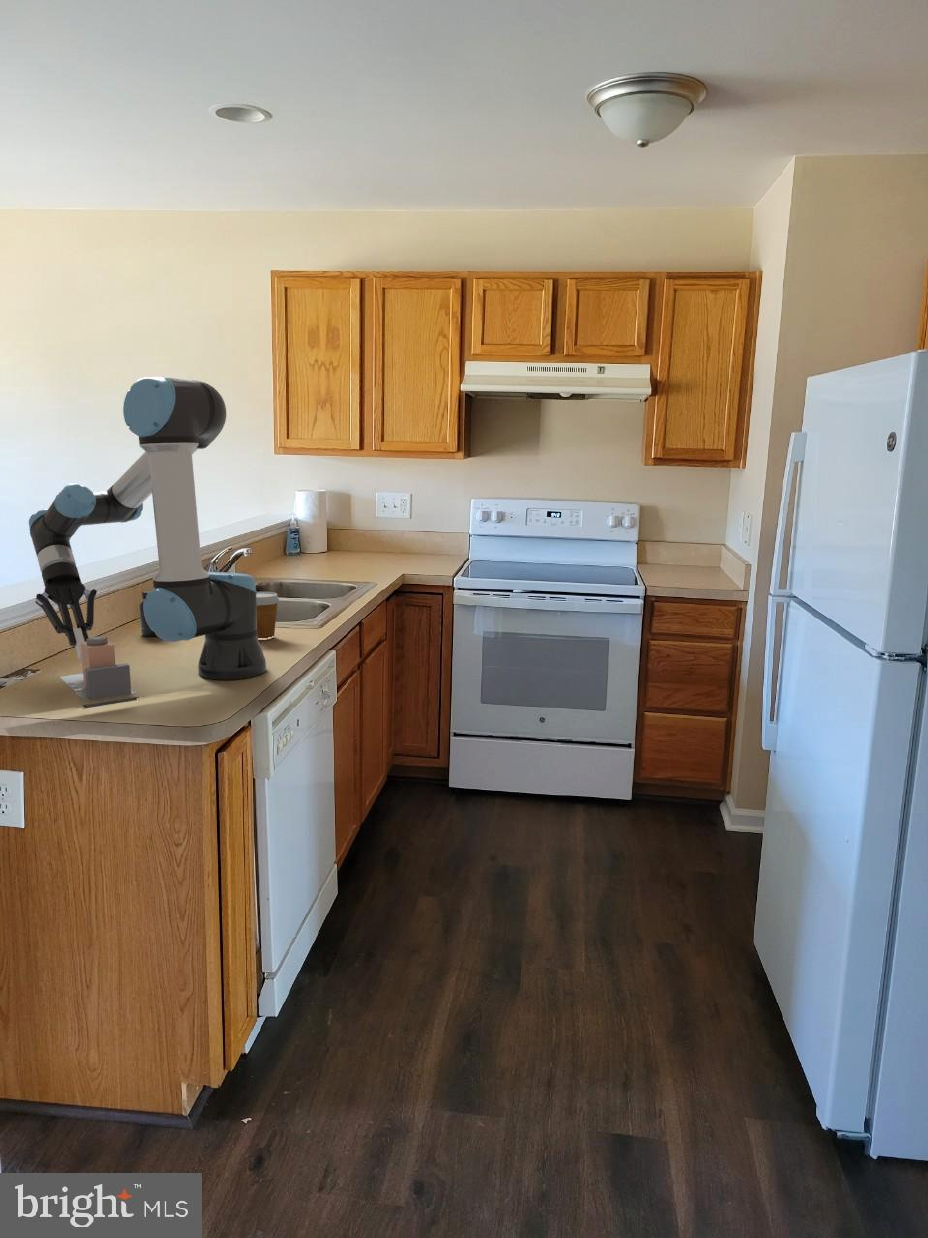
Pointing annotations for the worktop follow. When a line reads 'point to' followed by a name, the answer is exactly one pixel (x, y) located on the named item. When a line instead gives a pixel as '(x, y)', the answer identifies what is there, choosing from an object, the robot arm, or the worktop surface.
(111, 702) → the slate track
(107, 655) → the terracotta plug block
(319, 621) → the worktop surface
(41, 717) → the worktop surface
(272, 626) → the disposable coffee cup
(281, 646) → the worktop surface
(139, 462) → the robot arm
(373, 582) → the worktop surface
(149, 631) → the supplement bottle
